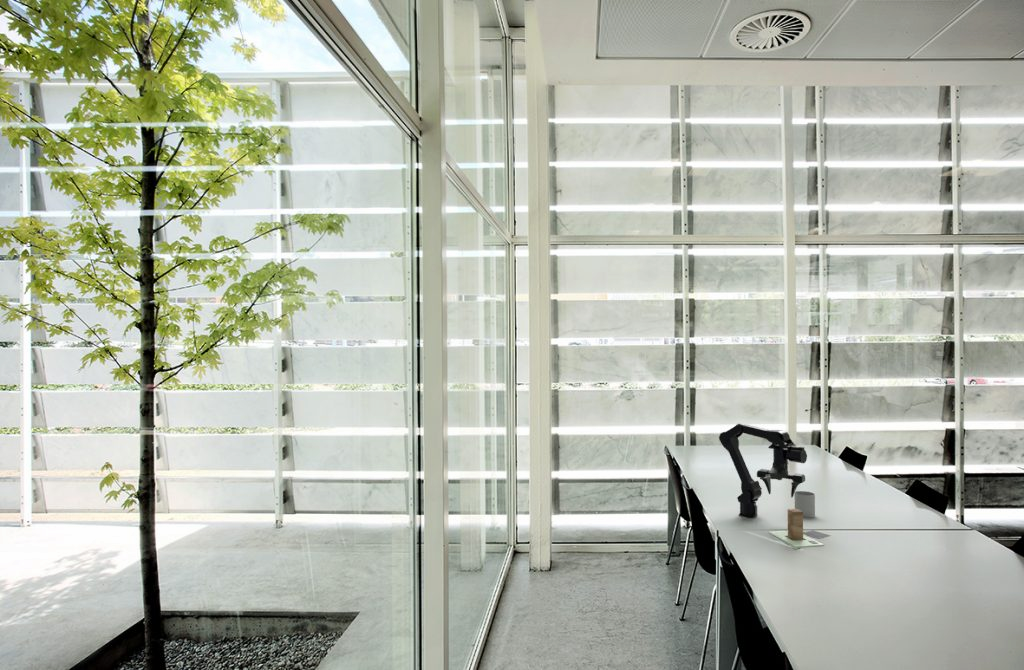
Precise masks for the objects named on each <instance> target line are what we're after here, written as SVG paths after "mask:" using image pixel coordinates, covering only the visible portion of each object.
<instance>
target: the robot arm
mask: <svg viewBox="0 0 1024 670" xmlns="http://www.w3.org/2000/svg"><path fill="white" fill-rule="evenodd" d="M743 434H746V435H749V436H754V437H757V438H761V439H764V440H766V441H768V442H769V443H771V444H770V445H769V446H768V449H772V451H773V456H772V457H773V462H772V467H771V468H770V469H766V468H765V469H763V468H761V469H759V470H757V471H756V477H757V478H759V479H760V480H762V481H763V483H764V485H765V487H766V489H767V490H766V491H767V492H768V495H771V494H772V493H771V492H772V487H771V486H772V485H771V484H772V483H771V480H777V481H782V480H783V479H787V480H792V482H791V491H790V498H793V497H794V496H795V492H796V490H797V488H798V486H799V485H800V484H803V483H804V482H805V481H806V475H805V474H802V473H796V472H795V473H794V474H789V469H788V468H789V462H793V463H800V464H805V463H806V462H807V459H808V454H807V451H806V450H805V446H796V444H794V442H793V440H792V439H791V437H790V435H789V433H788V431H786V430H785V429H784V430H782V429H767V428H763V427H758V426H755V425H750V424H746V423H744V422H742V423H741V422H740V423H737V424H736V425H734V426H733V427H732V428H730V429H728V430H726V431H723V432H720V433H719V435H718V439H719V442H720V444H721V445H722V446H723V448H724V449H725V450H726V451H727V452H728V454H729V457H730V458H731V461H732V462H733V465H734V468H735V470H736V473H737V475H738V477H739V480H740V489H741V494H739V496H737V501H738V503H739V513H738V516H739V517H747V518H752V519H754V518H755V517H756V516H758V505H757V501H758V500H759V498H760V497H762V494H763V492H762V489H763V488H762V486H761V485H760V482H759V480H754V478H753V477H752V476H751V474H750V471H749V468H748V466H747V465H746V462H745V460H744V457H743V455H742V453H741V451H740V441H739V438H740V437H741V436H742V435H743Z"/></svg>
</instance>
